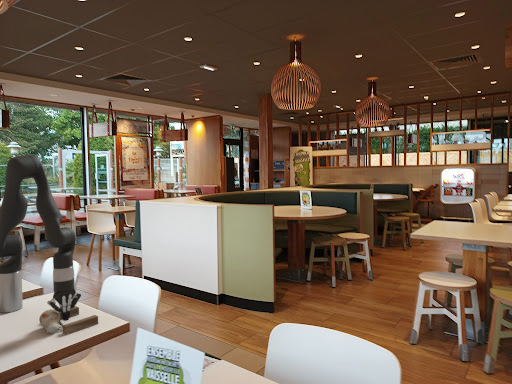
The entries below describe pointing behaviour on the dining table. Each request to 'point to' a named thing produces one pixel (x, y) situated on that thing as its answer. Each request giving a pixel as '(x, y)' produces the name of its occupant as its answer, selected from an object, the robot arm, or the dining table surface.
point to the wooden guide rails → (78, 322)
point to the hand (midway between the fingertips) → (65, 320)
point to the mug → (51, 321)
